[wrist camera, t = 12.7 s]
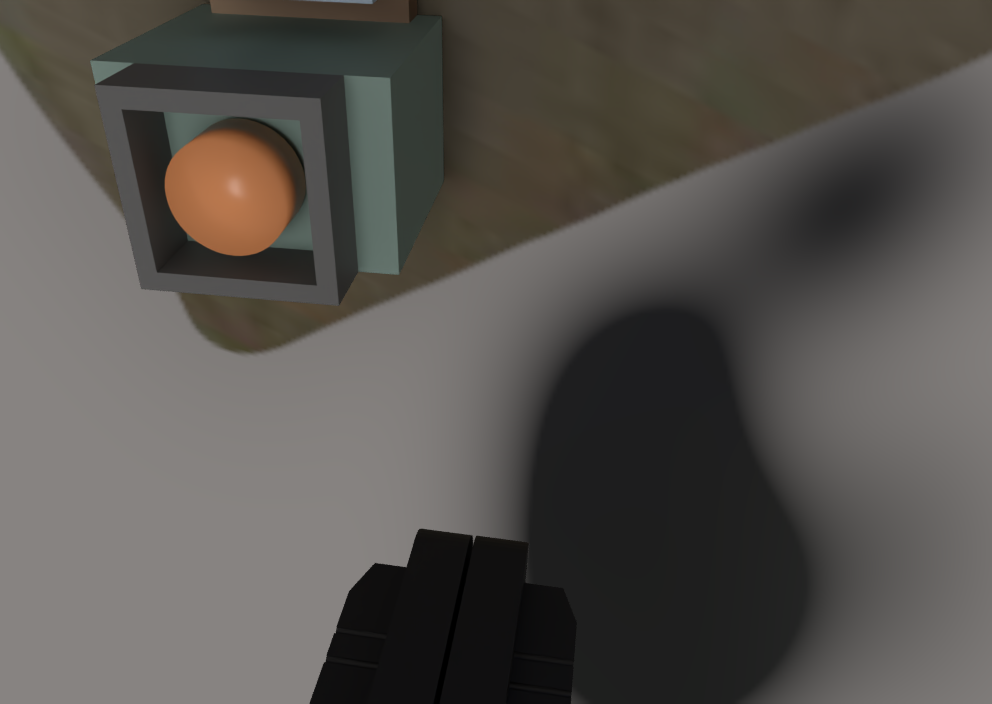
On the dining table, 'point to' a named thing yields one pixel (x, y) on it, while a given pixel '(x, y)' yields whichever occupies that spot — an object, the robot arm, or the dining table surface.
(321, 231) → the cabinet
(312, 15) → the rail stand
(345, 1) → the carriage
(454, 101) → the dining table surface
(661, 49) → the dining table surface
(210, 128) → the button
